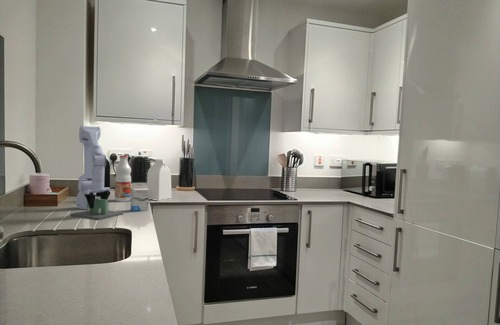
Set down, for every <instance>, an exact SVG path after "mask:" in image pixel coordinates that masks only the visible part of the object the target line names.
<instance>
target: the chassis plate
mask: <svg viewBox="0 0 500 325" xmlns="http://www.w3.org/2000/svg"><path fill="white" fill-rule="evenodd" d="M69 215H70V217H76V218H84V219H90V220H98V221H100V220H105V219H108V218H109V219H110V218H113V217H118V216H122V215H124V212H121V211H116V210H115V211H114V210H108V214H106V215H105V214H101V208H99V214H98V213H90V208H89V207H88V212H87V210H83V211H82V210H81V211H78V212H73V213H72V212H71V213H70V214H69Z"/></svg>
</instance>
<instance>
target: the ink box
mask: <svg viewBox="0 0 500 325" xmlns="http://www.w3.org/2000/svg"><path fill="white" fill-rule="evenodd" d="M146 187H147V182H131V200H130V211H132V212H143V211H144V212H148V211H149V206H150V205H149V204H150V203H149V202H150V200H149V189H147V188H146Z"/></svg>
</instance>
